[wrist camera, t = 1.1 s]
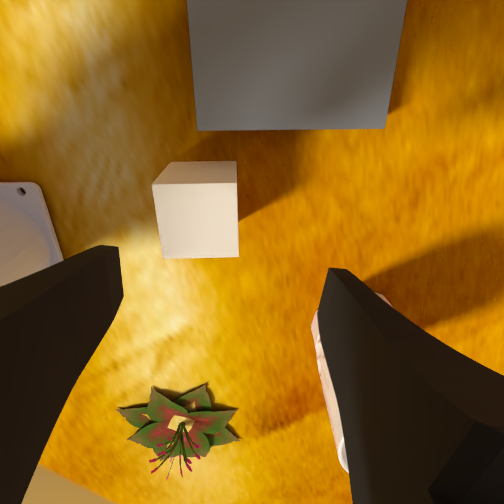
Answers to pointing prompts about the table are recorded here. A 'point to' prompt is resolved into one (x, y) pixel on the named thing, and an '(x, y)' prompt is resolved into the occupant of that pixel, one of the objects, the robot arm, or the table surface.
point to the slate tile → (293, 63)
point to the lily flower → (179, 426)
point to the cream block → (197, 209)
